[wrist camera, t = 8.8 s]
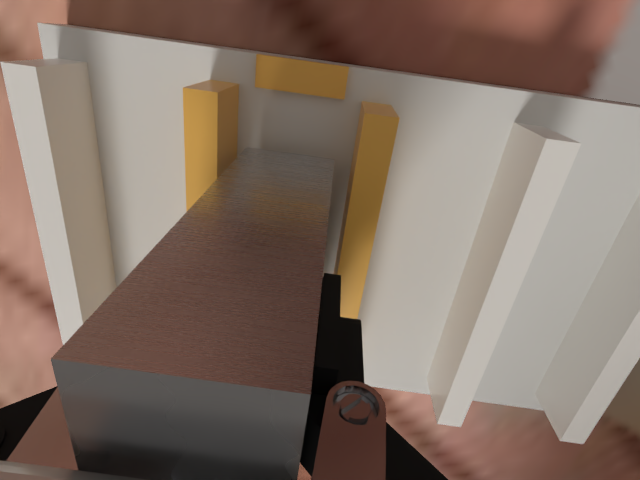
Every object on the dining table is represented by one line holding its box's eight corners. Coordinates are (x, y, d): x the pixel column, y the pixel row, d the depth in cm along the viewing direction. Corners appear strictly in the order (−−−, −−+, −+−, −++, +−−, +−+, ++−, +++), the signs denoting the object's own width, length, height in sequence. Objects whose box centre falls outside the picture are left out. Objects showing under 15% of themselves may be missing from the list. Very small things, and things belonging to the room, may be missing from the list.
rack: (544, 388, 21) (585, 461, 17) (110, 327, 21) (61, 387, 17) (691, 112, 14) (804, 136, 11) (66, 24, 14) (-27, 19, 11)
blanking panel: (308, 340, 17) (266, 669, 8) (239, 330, 17) (122, 648, 8) (334, 159, 13) (310, 394, 5) (246, 146, 13) (50, 358, 5)
